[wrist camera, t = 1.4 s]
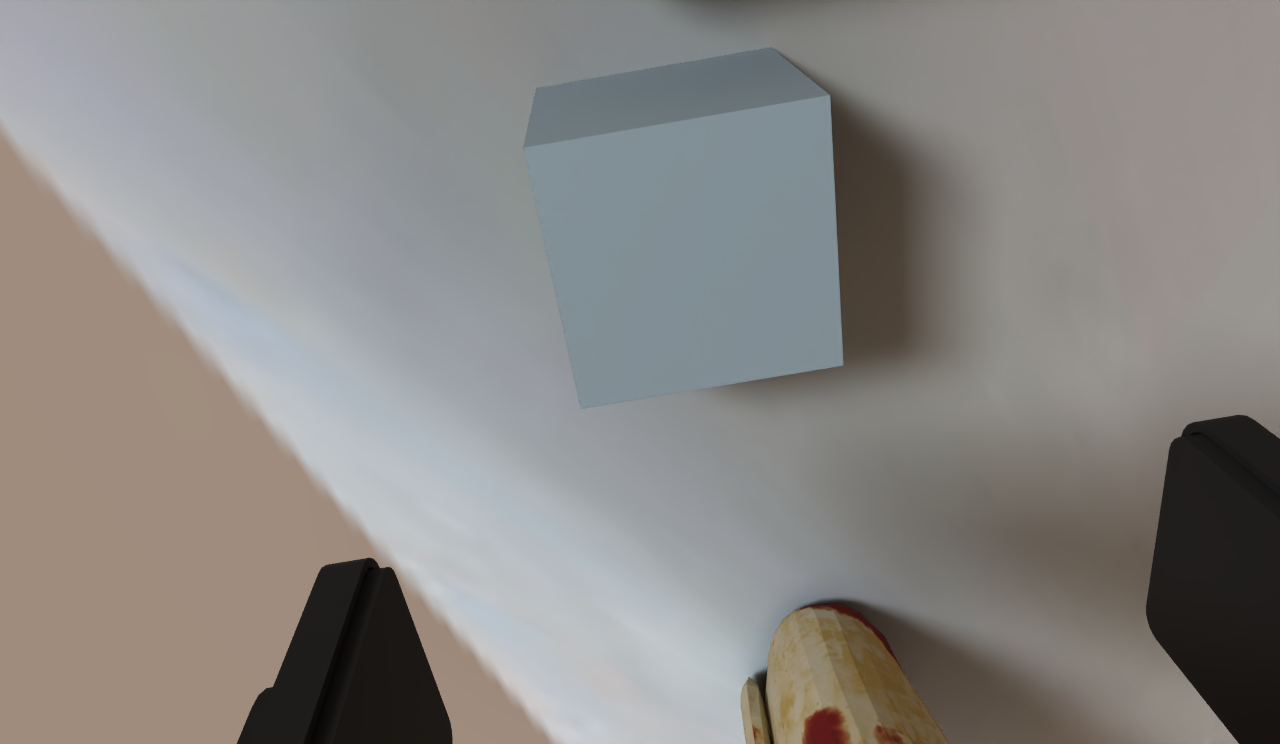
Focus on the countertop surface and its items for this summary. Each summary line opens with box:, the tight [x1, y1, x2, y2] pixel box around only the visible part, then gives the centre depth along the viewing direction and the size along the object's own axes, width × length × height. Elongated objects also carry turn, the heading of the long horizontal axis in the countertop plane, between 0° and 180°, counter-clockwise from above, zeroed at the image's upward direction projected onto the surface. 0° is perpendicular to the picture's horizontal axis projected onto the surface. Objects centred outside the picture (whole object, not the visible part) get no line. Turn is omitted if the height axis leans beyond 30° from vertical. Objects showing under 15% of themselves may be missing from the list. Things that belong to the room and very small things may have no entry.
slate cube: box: [523, 47, 843, 409], centre depth 21 cm, size 6×6×6 cm
